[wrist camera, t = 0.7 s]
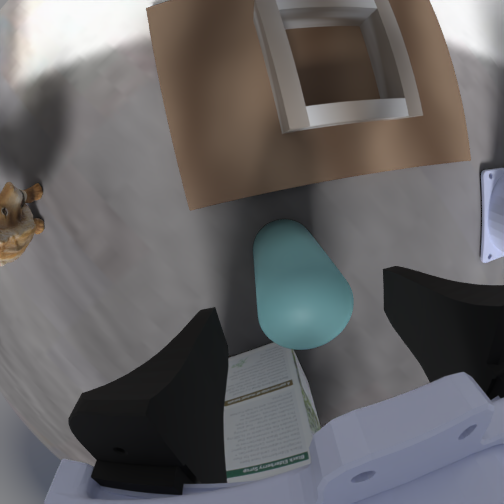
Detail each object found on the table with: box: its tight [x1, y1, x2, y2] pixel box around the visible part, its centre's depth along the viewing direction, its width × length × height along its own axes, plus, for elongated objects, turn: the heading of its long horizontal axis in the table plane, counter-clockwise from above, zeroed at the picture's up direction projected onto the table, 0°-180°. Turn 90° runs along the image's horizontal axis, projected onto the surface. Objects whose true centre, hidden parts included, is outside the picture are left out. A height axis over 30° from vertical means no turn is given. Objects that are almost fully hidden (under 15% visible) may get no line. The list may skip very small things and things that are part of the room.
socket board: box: [146, 0, 471, 211], centre depth 14 cm, size 20×14×4 cm
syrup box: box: [224, 342, 321, 483], centre depth 16 cm, size 6×6×14 cm
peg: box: [253, 219, 353, 350], centre depth 16 cm, size 4×4×8 cm
